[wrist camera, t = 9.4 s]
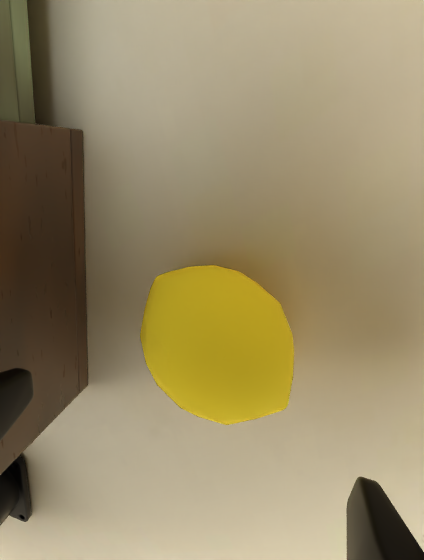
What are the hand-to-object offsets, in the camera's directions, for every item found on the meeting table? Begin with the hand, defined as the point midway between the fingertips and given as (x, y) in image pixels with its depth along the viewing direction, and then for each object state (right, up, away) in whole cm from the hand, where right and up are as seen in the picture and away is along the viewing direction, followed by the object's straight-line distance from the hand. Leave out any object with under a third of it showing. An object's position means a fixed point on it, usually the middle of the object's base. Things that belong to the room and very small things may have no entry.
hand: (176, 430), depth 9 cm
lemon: (+2, +2, +7) cm, 7 cm away
